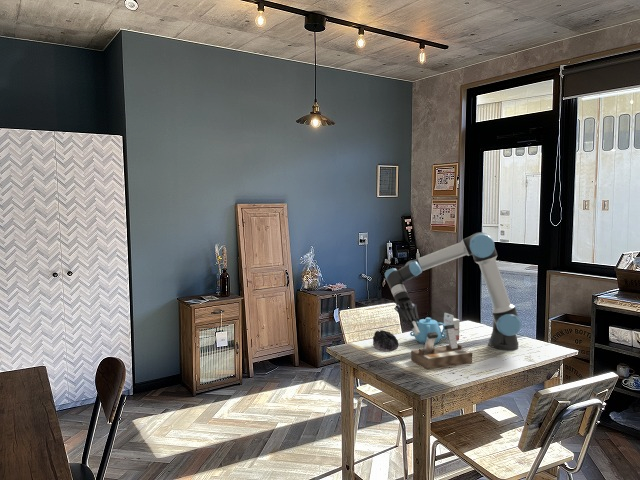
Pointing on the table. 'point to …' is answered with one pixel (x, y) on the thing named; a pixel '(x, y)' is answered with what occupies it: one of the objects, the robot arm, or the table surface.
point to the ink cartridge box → (454, 322)
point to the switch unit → (441, 357)
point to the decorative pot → (428, 330)
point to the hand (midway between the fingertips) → (417, 333)
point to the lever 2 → (451, 336)
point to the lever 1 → (430, 342)
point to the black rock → (384, 341)
